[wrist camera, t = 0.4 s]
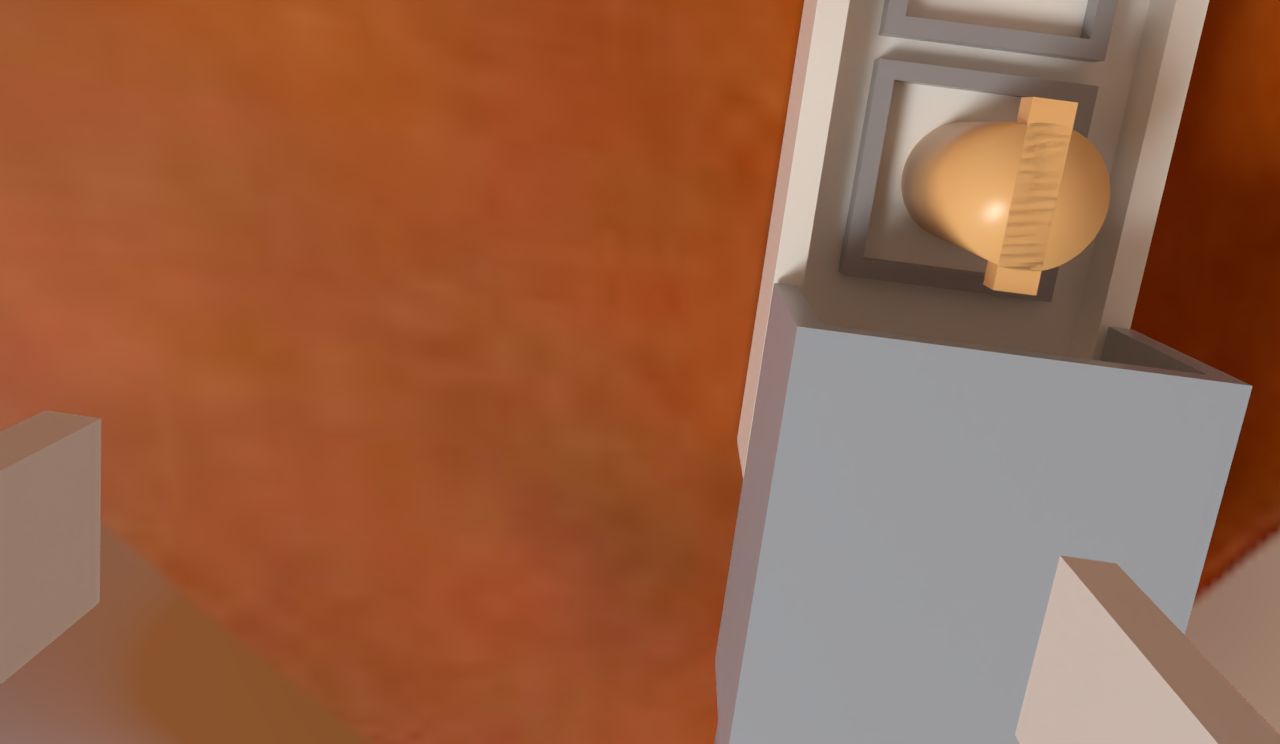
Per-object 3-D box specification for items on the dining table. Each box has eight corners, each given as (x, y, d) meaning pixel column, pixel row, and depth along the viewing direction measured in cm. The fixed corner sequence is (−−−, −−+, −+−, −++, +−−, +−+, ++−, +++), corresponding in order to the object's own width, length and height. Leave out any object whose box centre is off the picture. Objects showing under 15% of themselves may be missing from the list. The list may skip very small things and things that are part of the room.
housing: (845, -265, 35) (867, -319, 31) (1201, -221, 35) (1274, -270, 31) (736, 439, 41) (742, 477, 37) (1041, 479, 41) (1083, 522, 37)
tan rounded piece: (916, 96, 35) (980, 89, 28) (1033, 111, 35) (1131, 109, 28) (888, 248, 37) (942, 283, 29) (1002, 263, 37) (1087, 302, 29)
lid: (774, 282, 35) (797, 326, 28) (1132, 329, 35) (1252, 386, 27) (711, 679, 38) (717, 811, 31) (1037, 723, 38) (1121, 867, 31)
